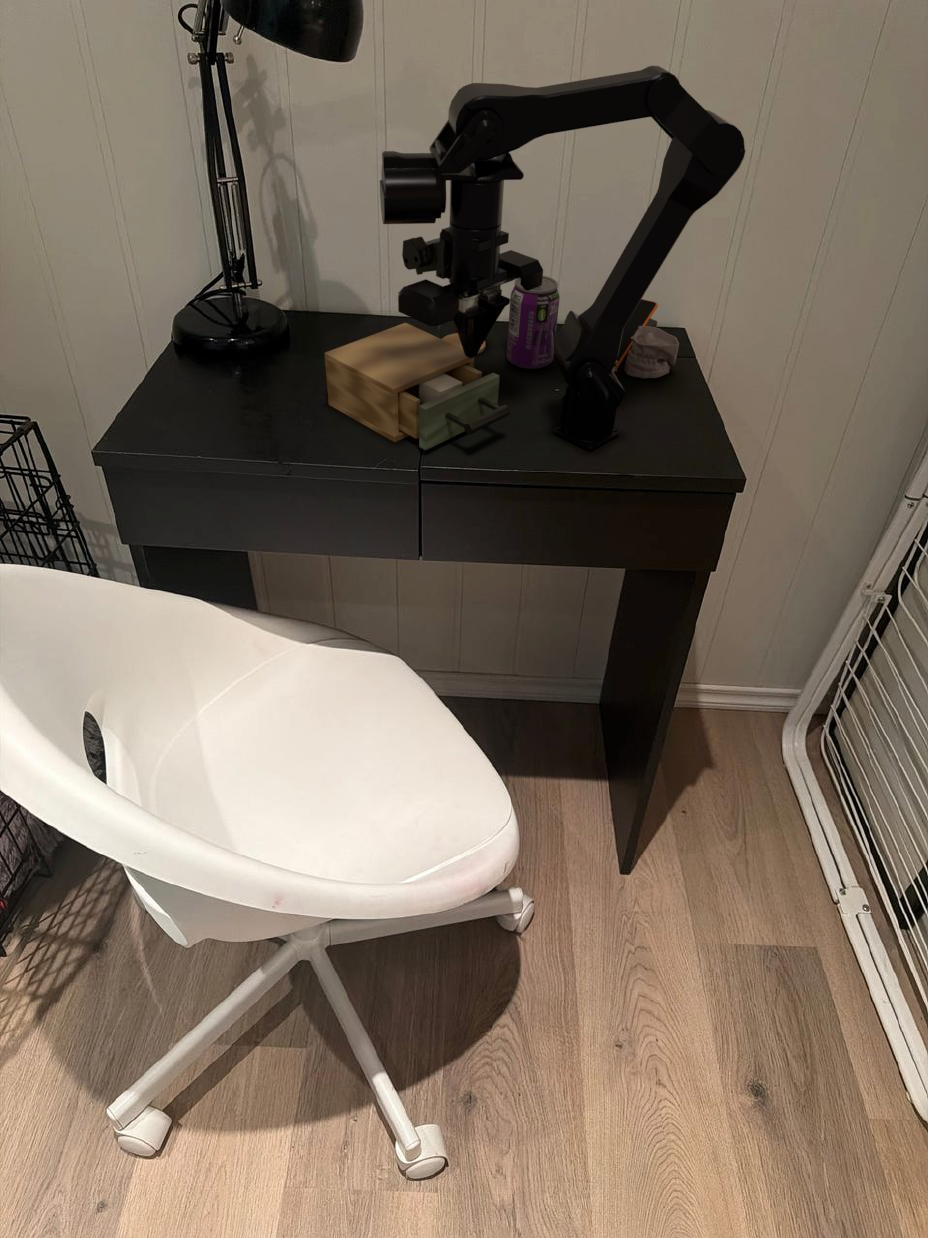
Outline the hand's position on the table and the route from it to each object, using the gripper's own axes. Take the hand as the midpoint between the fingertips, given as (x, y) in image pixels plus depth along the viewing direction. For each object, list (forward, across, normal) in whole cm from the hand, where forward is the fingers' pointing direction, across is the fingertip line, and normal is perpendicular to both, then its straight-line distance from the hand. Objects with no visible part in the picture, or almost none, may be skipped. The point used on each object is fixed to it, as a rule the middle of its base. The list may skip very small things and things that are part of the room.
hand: (470, 356), depth 103 cm
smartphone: (+9, -42, -4) cm, 44 cm away
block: (+10, 0, -5) cm, 11 cm away
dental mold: (+6, -35, +4) cm, 36 cm away
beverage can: (+12, -24, -10) cm, 28 cm away
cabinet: (+12, 0, -13) cm, 17 cm away
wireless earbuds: (+12, -42, -3) cm, 44 cm away
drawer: (+11, 0, -5) cm, 12 cm away
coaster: (+12, -20, -20) cm, 31 cm away
